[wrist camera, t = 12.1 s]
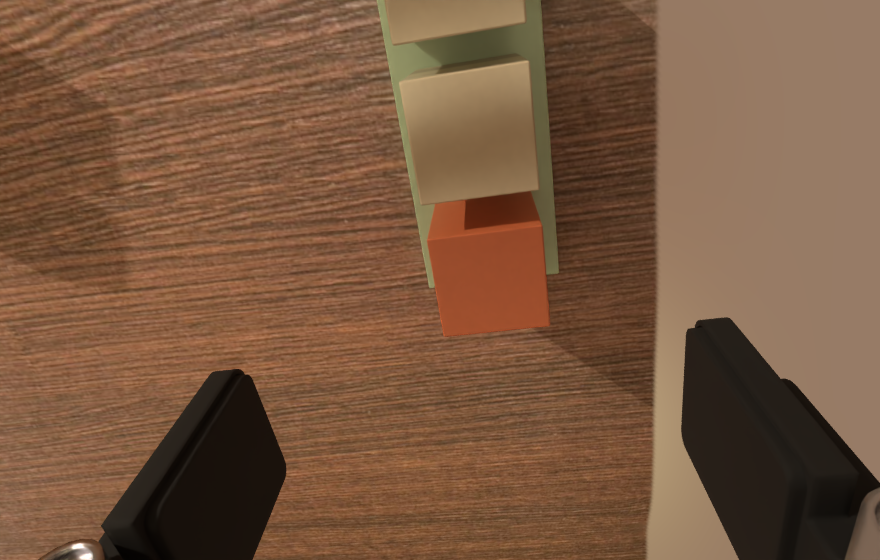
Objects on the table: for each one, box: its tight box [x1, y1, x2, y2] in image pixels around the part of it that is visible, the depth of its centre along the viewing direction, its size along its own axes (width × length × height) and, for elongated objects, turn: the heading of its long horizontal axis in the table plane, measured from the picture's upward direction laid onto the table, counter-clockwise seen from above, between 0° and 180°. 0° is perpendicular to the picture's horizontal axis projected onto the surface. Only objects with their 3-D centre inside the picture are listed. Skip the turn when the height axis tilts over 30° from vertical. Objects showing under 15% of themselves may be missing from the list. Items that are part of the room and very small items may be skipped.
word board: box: [377, 0, 559, 288], centre depth 19 cm, size 15×6×6 cm, turn 9°
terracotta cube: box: [427, 191, 550, 337], centre depth 21 cm, size 4×4×5 cm
